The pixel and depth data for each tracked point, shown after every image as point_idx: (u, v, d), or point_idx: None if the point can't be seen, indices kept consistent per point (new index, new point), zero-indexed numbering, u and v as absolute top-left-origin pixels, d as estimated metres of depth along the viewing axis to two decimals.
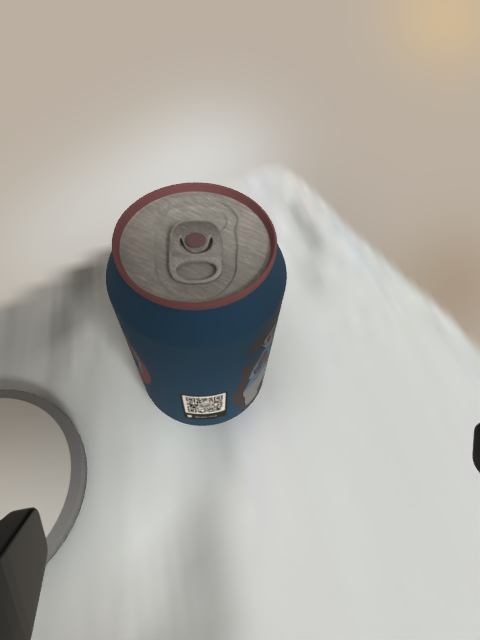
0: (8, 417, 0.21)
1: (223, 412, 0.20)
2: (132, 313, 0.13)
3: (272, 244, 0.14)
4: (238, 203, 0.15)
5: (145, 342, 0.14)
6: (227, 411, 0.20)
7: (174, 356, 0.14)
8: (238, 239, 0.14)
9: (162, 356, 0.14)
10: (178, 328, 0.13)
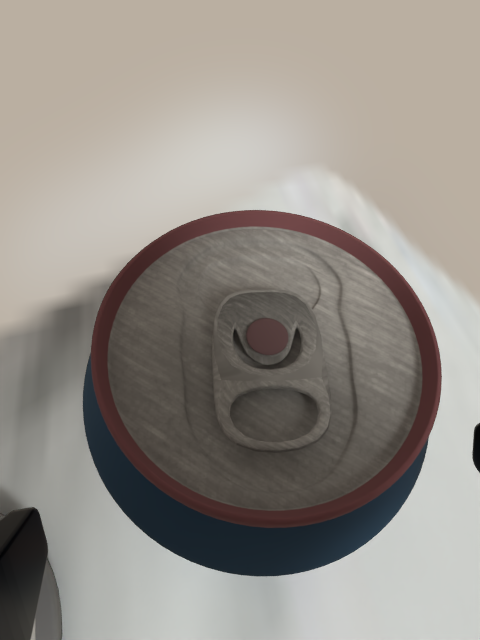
0: None
1: None
2: (133, 500, 0.06)
3: (425, 347, 0.07)
4: (339, 251, 0.08)
5: None
6: None
7: None
8: (351, 332, 0.07)
9: None
10: (235, 548, 0.06)
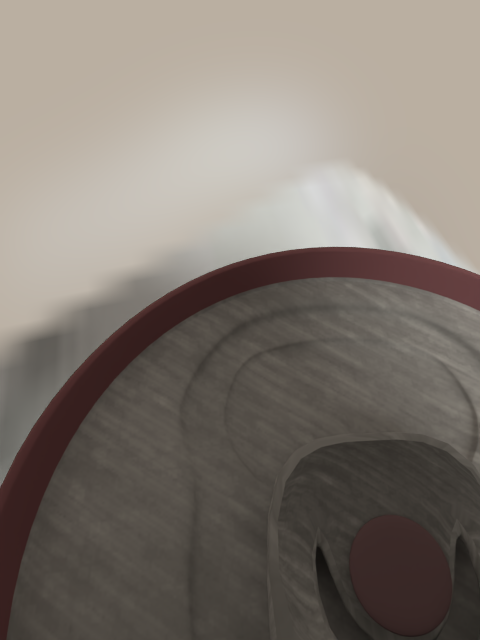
0: None
1: None
2: None
3: None
4: None
5: None
6: None
7: None
8: None
9: None
10: None
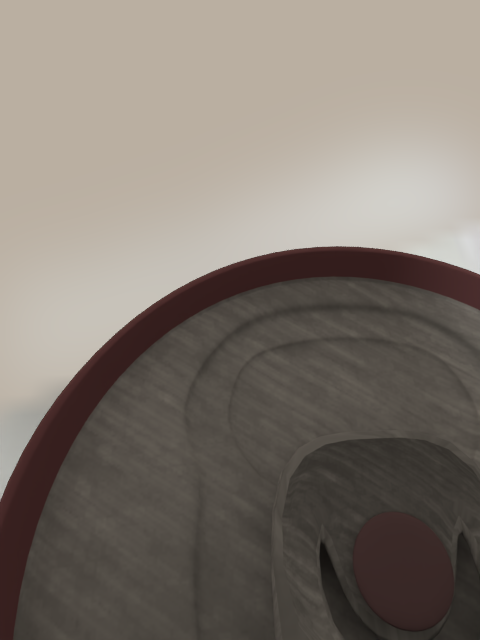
0: None
1: None
2: None
3: None
4: None
5: None
6: None
7: None
8: None
9: None
10: None
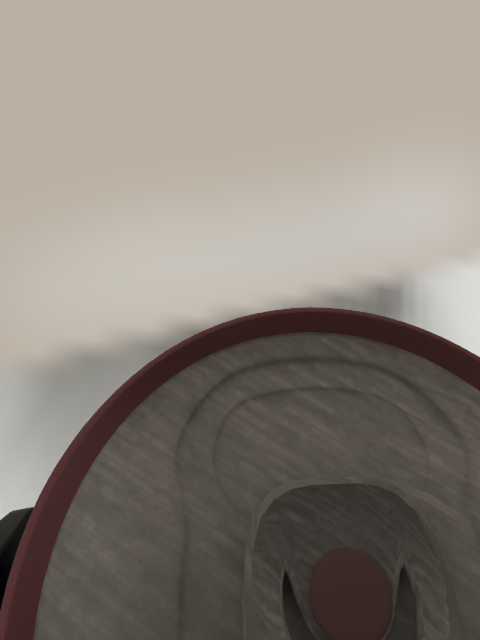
0: None
1: None
2: None
3: None
4: (455, 382, 0.05)
5: None
6: None
7: None
8: None
9: None
10: None
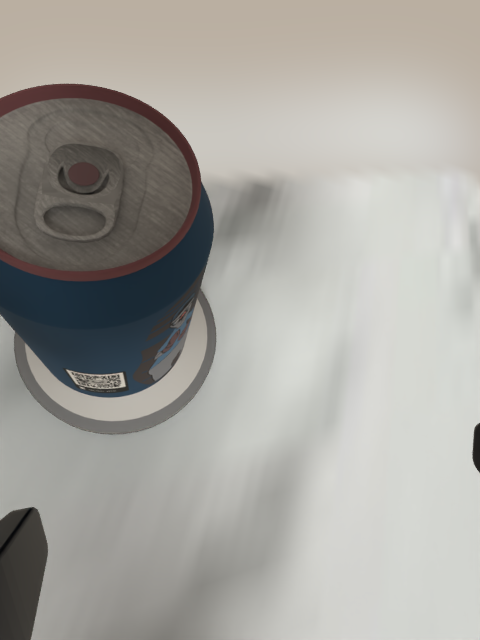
0: None
1: (123, 388, 0.17)
2: None
3: (193, 199, 0.10)
4: (159, 130, 0.11)
5: None
6: (128, 387, 0.17)
7: (40, 332, 0.10)
8: (148, 184, 0.10)
9: (25, 328, 0.11)
10: (38, 300, 0.09)
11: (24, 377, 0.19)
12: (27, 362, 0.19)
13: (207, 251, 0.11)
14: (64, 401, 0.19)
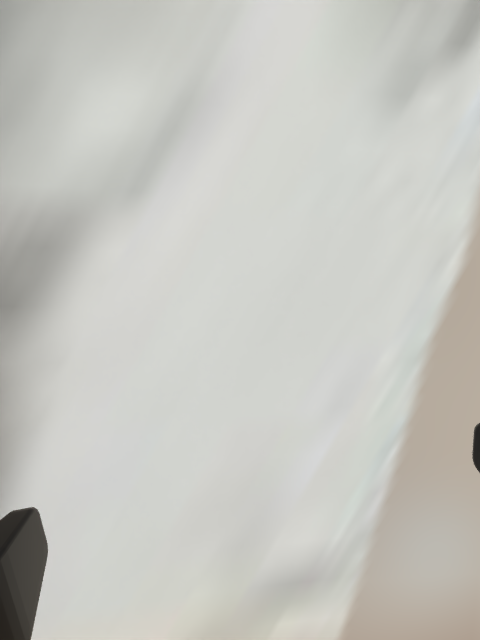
0: None
1: None
2: None
3: None
4: None
5: None
6: None
7: None
8: None
9: None
10: None
11: None
12: None
13: None
14: None
